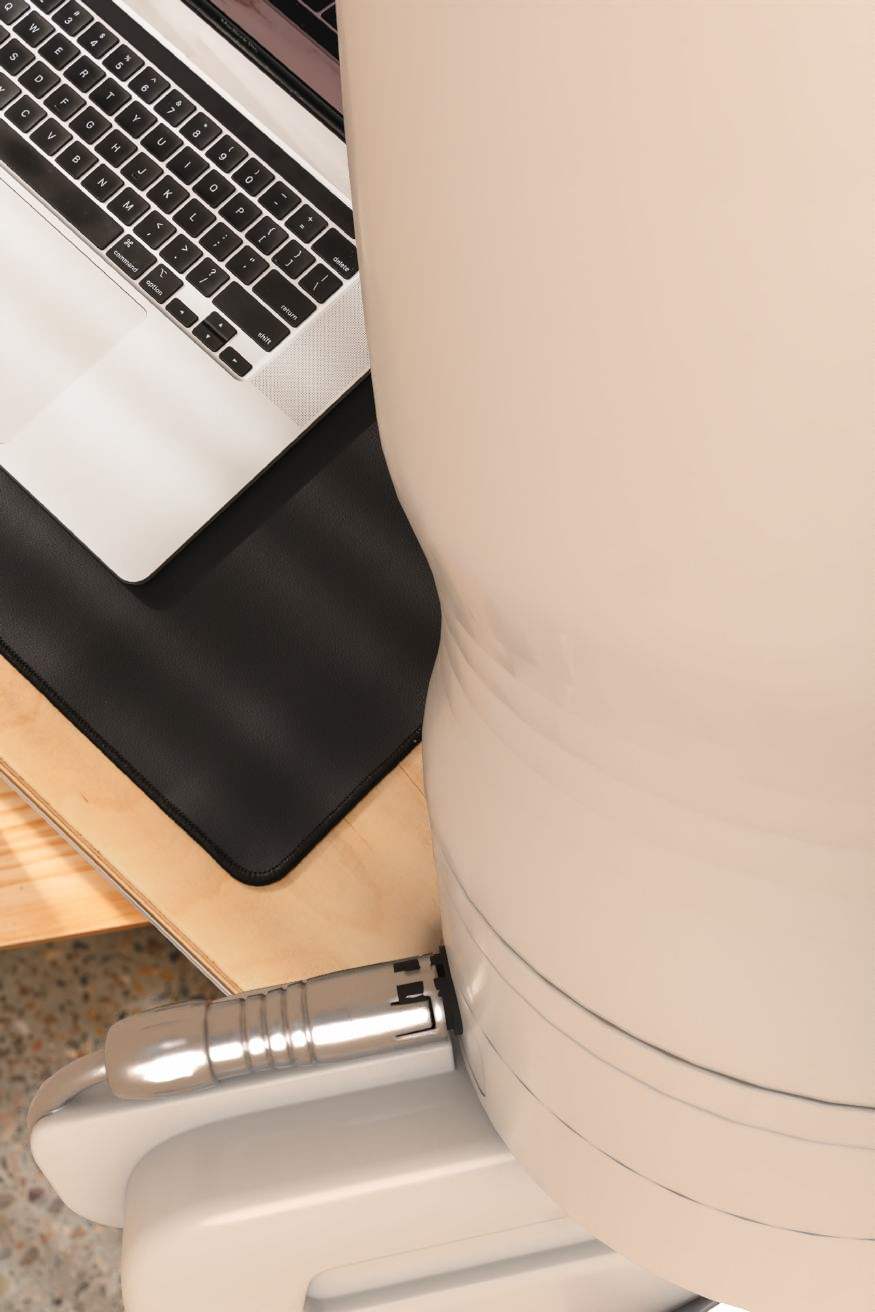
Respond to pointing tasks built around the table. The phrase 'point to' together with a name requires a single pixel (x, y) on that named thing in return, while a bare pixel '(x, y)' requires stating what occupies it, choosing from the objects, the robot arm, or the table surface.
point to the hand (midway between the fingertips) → (692, 1307)
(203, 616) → the table surface
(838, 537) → the robot arm
